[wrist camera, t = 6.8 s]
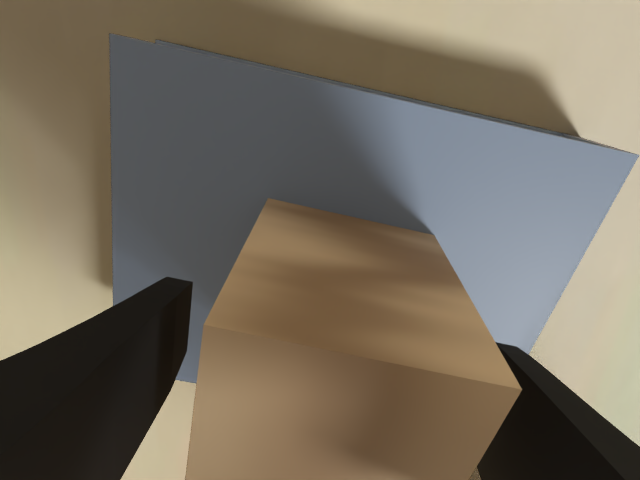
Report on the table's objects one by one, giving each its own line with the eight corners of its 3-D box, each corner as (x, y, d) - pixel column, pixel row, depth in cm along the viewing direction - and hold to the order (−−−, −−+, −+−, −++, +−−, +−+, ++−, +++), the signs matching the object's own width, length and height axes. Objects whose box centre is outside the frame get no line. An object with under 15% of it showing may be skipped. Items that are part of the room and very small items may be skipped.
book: (576, 135, 13) (639, 155, 10) (459, 378, 18) (482, 437, 15) (159, 39, 12) (109, 33, 10) (149, 318, 17) (113, 368, 14)
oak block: (434, 234, 12) (521, 389, 6) (385, 362, 14) (418, 564, 8) (268, 197, 11) (203, 324, 6) (244, 334, 13) (179, 522, 8)
